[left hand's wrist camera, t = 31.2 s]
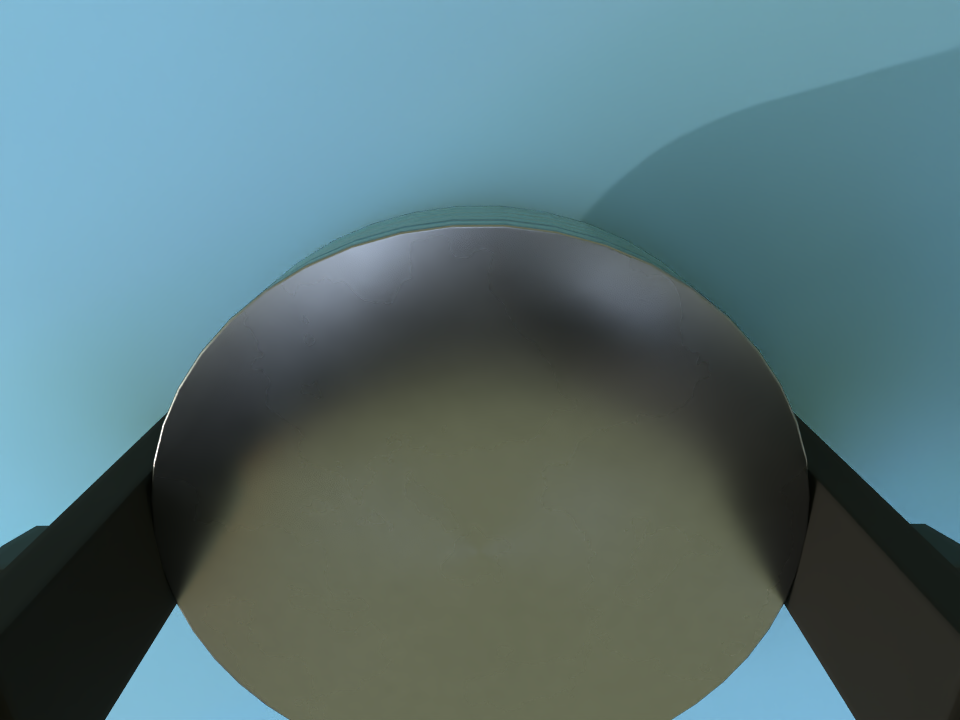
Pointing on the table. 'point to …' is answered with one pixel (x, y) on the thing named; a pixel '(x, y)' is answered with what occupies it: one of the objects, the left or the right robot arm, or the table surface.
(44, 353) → the table surface
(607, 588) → the lid
